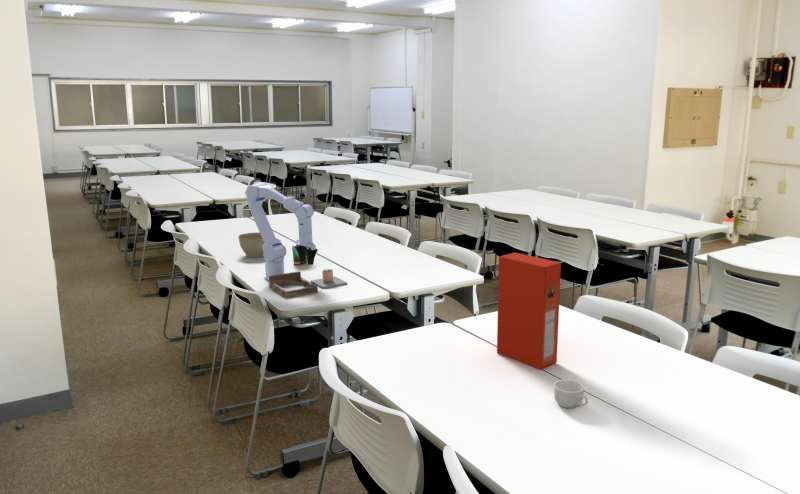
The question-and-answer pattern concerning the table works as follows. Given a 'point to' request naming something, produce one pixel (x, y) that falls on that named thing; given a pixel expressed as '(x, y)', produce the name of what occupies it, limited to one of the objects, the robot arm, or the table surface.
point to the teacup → (569, 393)
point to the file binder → (528, 309)
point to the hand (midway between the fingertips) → (306, 262)
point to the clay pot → (327, 275)
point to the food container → (297, 257)
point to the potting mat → (326, 285)
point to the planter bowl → (251, 244)
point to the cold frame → (291, 278)
